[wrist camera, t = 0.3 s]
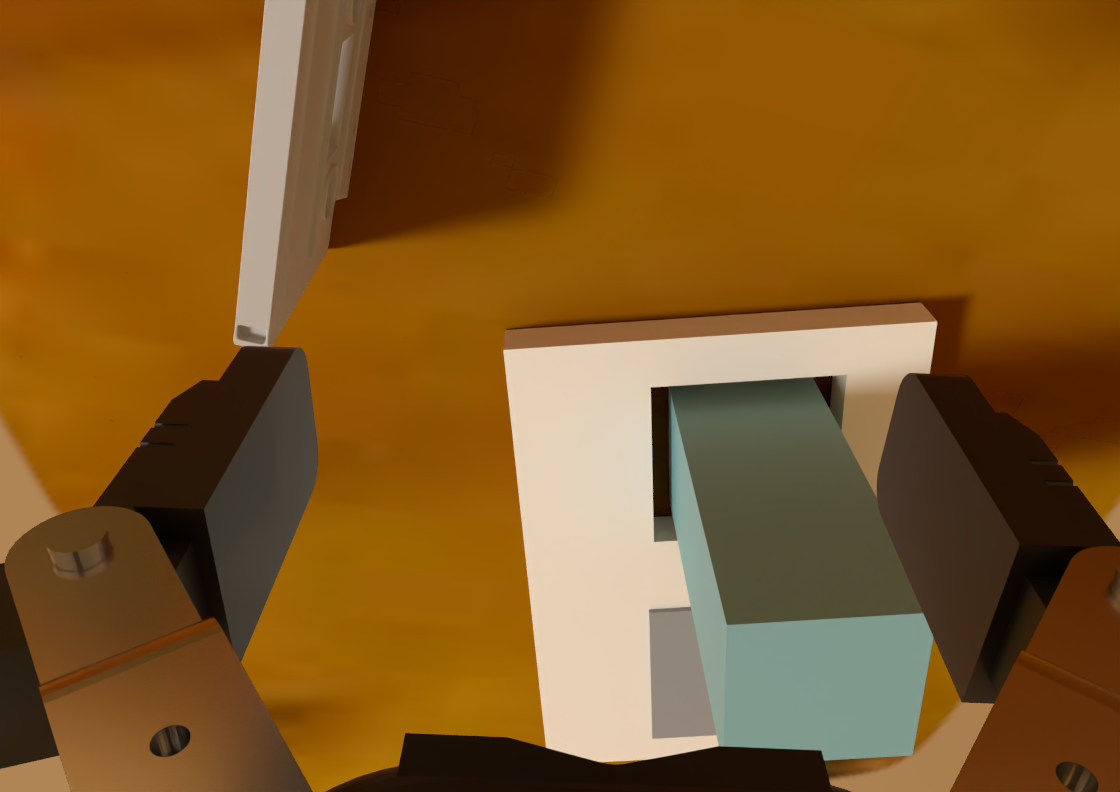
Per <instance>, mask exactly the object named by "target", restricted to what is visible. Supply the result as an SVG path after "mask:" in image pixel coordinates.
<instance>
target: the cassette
mask: <svg viewBox="0 0 1120 792" xmlns="http://www.w3.org/2000/svg"><path fill="white" fill-rule="evenodd" d="M375 5H376V0H265V7H264V18H263V29H262V40H261V51H260V61H259V72H258V83H257V94H256V105H255V116H254V126H253V137H252V148H251V159H250V170H249V181H248V191H247V202H246V213H245V224H244V235H243V246H242V256H241V267H240V278H239V289H238V300H237V311H236V321H235V331H234V337H233V341H234V344H235V345H240V346H267V347H272V346H273V344H274V342H275V341H276V339H277V337H278V336H279V334H280V332H281V330H282V329H283V327H284V325H285V323H286V322H287V320H288V318H289V316H290V315H291V313H292V311H293V309H294V308H295V306H296V304H297V302H298V301H299V299H300V297H301V295H302V294H303V292H304V290H305V288H306V287H307V285H308V283H309V282H310V280H311V278H312V276H313V275H314V273H315V271H316V269H317V268H318V266H319V264H320V262H321V261H322V259H323V257H324V256H325V254H326V252H327V250H328V247H329V241H330V233H331V226H332V219H333V212H334V206H335V201H336V200H339V199H343V198H347V197H348V190H349V183H350V176H351V169H352V163H353V156H354V149H355V142H356V135H357V128H358V121H359V115H360V108H361V101H362V94H363V87H364V80H365V74H366V67H367V60H368V53H369V46H370V39H371V33H372V26H373V19H374V12H375Z"/></svg>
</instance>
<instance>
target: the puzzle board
mask: <svg viewBox="0 0 1120 792" xmlns="http://www.w3.org/2000/svg"><path fill="white" fill-rule="evenodd" d="M936 328H937V320H936V319H935V318H934V317H933V316H932V314H931V313H930V312H929V311H928V310H927V309H926V308H925V306H924V305H923V304H922V303H906V304H890V305H875V306H860V307H845V308H830V309H815V310H800V311H785V312H770V313H755V314H739V315H724V316H709V317H694V318H679V319H664V320H649V321H634V322H619V323H604V324H588V325H573V326H558V327H543V328H528V329H513V330H505V337H504V349H503V351H504V360H505V369H506V379H507V388H508V397H509V407H510V416H511V425H512V435H513V444H514V453H515V462H516V472H517V481H518V490H519V500H520V509H521V518H522V528H523V537H524V546H525V556H526V565H527V574H528V584H529V593H530V602H531V612H532V621H533V630H534V639H535V649H536V658H537V667H538V677H539V686H540V695H541V705H542V714H543V723H544V733H545V742H546V748H549V749H552V750H556V751H560V752H563V753H567V754H571V755H575V756H578V757H582V758H586V759H590V760H593V761H597V762H611V761H629V760H647V759H654V758H659V757H664V756H670V755H675V754H680V753H686V752H691V751H696V750H702V749H707V748H712V747H717V746H719V745H718V740H717V735H716V730H715V725H714V720H713V715H712V710H711V705H710V700H709V695H708V690H707V685H706V680H705V675H704V670H703V665H702V660H701V655H700V650H699V645H698V640H697V635H696V630H695V625H694V620H693V615H692V610H691V605H690V600H689V595H688V590H687V585H686V580H685V575H684V570H683V565H682V560H681V555H680V550H679V545H678V540H677V535H676V530H675V525H674V520H673V516H664V517H653V471H652V423H651V387H666V386H682V385H697V384H713V383H728V382H744V381H759V380H774V379H790V378H805V377H821V376H833V378H832V390H831V401H830V411H831V413H832V415H833V416H834V418H835V420H836V422H837V424H838V426H839V428H840V430H841V431H842V433H843V435H844V437H845V439H846V441H847V443H848V445H849V447H850V448H851V450H852V452H853V454H854V456H855V458H856V460H857V462H858V463H859V465H860V467H861V469H862V471H863V473H864V475H865V477H866V479H867V480H868V482H869V484H870V486H871V488H872V490H873V492H874V494H875V495H876V497H877V475H878V469H879V464H880V461H881V457H882V453H883V449H884V445H885V441H886V437H887V433H888V429H889V425H890V421H891V417H892V413H893V409H894V405H895V401H896V397H897V393H898V390H899V386H900V384H901V382H902V380H903V378H904V377H905V376H906V375H907V374H909V373H925V374H930V369H931V362H932V355H933V348H934V342H935V335H936Z"/></svg>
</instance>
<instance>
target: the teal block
mask: <svg viewBox="0 0 1120 792" xmlns="http://www.w3.org/2000/svg"><path fill="white" fill-rule="evenodd" d="M668 415H669V500H670V505H671V510H672V515H673V520H674V525H675V530H676V535H677V540H678V545H679V550H680V555H681V560H682V565H683V570H684V575H685V580H686V585H687V590H688V595H689V600H690V605H691V610H692V615H693V620H694V625H695V630H696V635H697V640H698V645H699V650H700V655H701V660H702V665H703V670H704V675H705V680H706V685H707V690H708V695H709V700H710V705H711V710H712V715H713V720H714V725H715V730H716V735H717V740H718V745H719V746H727V747H751V748H775V749H800V750H821V751H822V755H823V758H824V760H839V759H857V758H874V757H891V756H909V755H913V749H914V743H915V738H916V732H917V726H918V721H919V715H920V709H921V704H922V698H923V692H924V687H925V681H926V675H927V670H928V664H929V658H930V653H931V647H932V642H933V635H932V632H931V630H930V628H929V625H928V623H927V621H926V619H925V616H924V614H923V612H922V609H921V607H920V605H919V602H918V600H917V598H916V596H915V593H914V591H913V589H912V586H911V584H910V582H909V579H908V577H907V575H906V573H905V570H904V568H903V566H902V563H901V561H900V559H899V556H898V554H897V552H896V550H895V547H894V545H893V543H892V540H891V538H890V536H889V533H888V531H887V529H886V527H885V524H884V522H883V520H882V517H881V515H880V512H879V508H878V502H877V497H876V495H875V494H874V492H873V490H872V488H871V486H870V484H869V482H868V480H867V479H866V477H865V475H864V473H863V471H862V469H861V467H860V465H859V463H858V462H857V460H856V458H855V456H854V454H853V452H852V450H851V448H850V447H849V445H848V443H847V441H846V439H845V437H844V435H843V433H842V431H841V430H840V428H839V426H838V424H837V422H836V420H835V418H834V416H833V415H832V413H831V411H830V409H829V407H828V405H827V403H826V401H825V399H824V398H823V396H822V394H821V392H820V390H819V388H818V386H817V384H816V383H815V381H814V379H813V377H805V378H790V379H774V380H759V381H744V382H728V383H713V384H697V385H682V386H668Z"/></svg>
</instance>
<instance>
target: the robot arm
mask: <svg viewBox="0 0 1120 792" xmlns="http://www.w3.org/2000/svg"><path fill="white" fill-rule="evenodd" d="M140 443H141V446H140V447H137V448H136V449H135V450H134V452H133V453H132V454H131V456H130V457H129V458H128V460H127V461H126V463H125V464H124V465H123V467H122V468H121V469H120V471H119V472H118V473H117V475H116V476H115V477H114V479H113V480H112V481H111V483H110V484H109V486H108V487H107V488H106V490H105V491H104V492H103V494H102V495H101V496H100V498H99V499H98V500H97V502H96V503H95V504H94V506H93V507H88V508H82V509H77V510H73V511H70V512H66V513H63V514H60V515H58V516H55V517H53V518H50V519H48V520H46V521H44V522H42V523H40V524H39V525H37V526H36V527H34V528H32V529H31V530H29V531H28V532H27V533H25V534H24V535H23V536H22V537H21V538H20V539H19V540H17V541H16V542H15V544H14V545H13V546H12V548H11V549H10V550H9V553H8V554H7V557H6V560H5V563H2V564H0V769H1V768H6V767H10V766H14V765H19V764H23V763H28V762H32V761H37V760H41V759H45V758H50V757H54V756H59V755H60V758H61V762H62V765H63V768H64V771H65V774H66V778H67V781H68V784H69V787H70V791H71V792H312V790H311V788H310V786H309V784H308V783H307V781H306V779H305V777H304V775H303V774H302V772H301V770H300V768H299V766H298V765H297V763H296V761H295V759H294V757H293V756H292V754H291V752H290V750H289V748H288V747H287V745H286V743H285V741H284V739H283V738H282V736H281V734H280V732H279V730H278V729H277V727H276V725H275V723H274V721H273V720H272V718H271V716H270V714H269V712H268V711H267V709H266V707H265V705H264V703H263V702H262V700H261V698H260V696H259V694H258V693H257V691H256V689H255V687H254V685H253V684H252V682H251V680H250V678H249V676H248V675H247V673H246V671H245V669H244V667H243V666H242V664H241V660H242V658H243V656H244V653H245V651H246V648H247V646H248V644H249V641H250V639H251V637H252V634H253V632H254V629H255V627H256V625H257V622H258V620H259V617H260V615H261V613H262V610H263V608H264V606H265V603H266V601H267V598H268V596H269V594H270V591H271V589H272V587H273V584H274V582H275V579H276V577H277V575H278V572H279V570H280V568H281V565H282V563H283V560H284V558H285V556H286V553H287V551H288V549H289V546H290V544H291V541H292V539H293V537H294V534H295V532H296V530H297V527H298V525H299V522H300V520H301V518H302V515H303V513H304V510H305V508H306V506H307V503H308V501H309V499H310V496H311V494H312V491H313V488H314V485H315V480H316V475H317V466H318V446H317V437H316V429H315V421H314V412H313V404H312V396H311V388H310V380H309V372H308V365H307V360H306V356H305V353H304V352H303V350H302V349H301V348H292V347H267V346H244V347H242V348H241V349H240V350H239V352H238V353H237V355H236V356H235V358H234V359H233V361H232V362H231V364H230V365H229V367H228V368H227V370H226V371H225V373H224V374H223V376H222V377H221V378H220V380H219V381H211V380H202V381H200V382H199V383H197V384H196V385H194V386H193V387H191V388H190V389H188V390H186V391H185V392H183V393H182V394H180V395H179V396H177V397H176V398H174V399H172V400H171V402H170V403H169V404H168V406H167V407H166V408H165V410H164V411H163V413H162V414H161V415H160V417H159V418H158V419H157V421H156V422H155V427H154V428H151V429H150V430H149V431H148V433H147V434H146V436H145V437H144V438H143V440H142V441H141V442H140ZM1057 462H1058V460H1057V459H1056V457H1055V456H1054V455H1053V453H1052V452H1051V451H1050V450H1049V448H1048V447H1047V446H1046V444H1045V443H1044V442H1043V440H1042V439H1041V438H1040V436H1039V435H1037V434H1036V433H1035V432H1033V431H1032V430H1030V429H1029V428H1027V427H1026V426H1024V425H1023V424H1022V423H1020V422H1019V421H1017V420H1016V419H1014V418H1013V417H1011V416H1010V415H1009V414H1007V413H995V411H994V410H993V409H992V407H991V406H990V404H989V403H988V402H987V400H986V399H985V397H984V396H983V395H982V393H981V392H980V390H979V389H978V388H977V386H976V385H975V383H974V382H973V381H972V379H971V378H970V377H968V376H967V375H951V374H925V373H909V374H907V375H906V376H905V377H904V378H903V380H902V382H901V384H900V386H899V390H898V393H897V397H896V401H895V405H894V409H893V413H892V417H891V421H890V425H889V429H888V433H887V437H886V441H885V445H884V449H883V453H882V457H881V461H880V464H879V469H878V475H877V502H878V508H879V512H880V515H881V517H882V520H883V522H884V524H885V527H886V529H887V531H888V533H889V536H890V538H891V540H892V543H893V545H894V547H895V550H896V552H897V554H898V556H899V559H900V561H901V563H902V566H903V568H904V570H905V573H906V575H907V577H908V579H909V582H910V584H911V586H912V589H913V591H914V593H915V596H916V598H917V600H918V602H919V605H920V607H921V609H922V612H923V614H924V616H925V619H926V621H927V623H928V625H929V628H930V630H931V632H932V635H933V637H934V639H935V642H936V644H937V646H938V648H939V651H940V653H941V655H942V658H943V660H944V662H945V665H946V667H947V669H948V671H949V674H950V676H951V678H952V681H953V683H954V685H955V688H956V690H957V692H958V694H959V697H960V699H961V701H962V702H969V703H993V704H994V705H993V707H992V709H991V711H990V713H989V715H988V717H987V719H986V721H985V723H984V725H983V727H982V729H981V731H980V733H979V735H978V737H977V739H976V741H975V743H974V745H973V747H972V749H971V751H970V753H969V755H968V757H967V759H966V761H965V763H964V765H963V767H962V769H961V771H960V773H959V775H958V777H957V779H956V781H955V783H954V785H953V787H952V789H951V790H950V792H1120V542H1119V541H1118V539H1117V538H1116V537H1115V536H1114V534H1113V533H1112V531H1111V530H1110V529H1109V527H1108V526H1107V525H1106V523H1105V522H1104V521H1103V519H1102V518H1101V517H1100V515H1099V514H1098V513H1097V511H1096V510H1095V509H1094V508H1093V506H1092V505H1091V504H1090V502H1089V501H1088V500H1087V498H1086V497H1085V496H1084V494H1083V493H1082V492H1081V490H1080V489H1079V488H1078V486H1073V480H1072V479H1071V477H1070V476H1069V475H1068V473H1067V472H1066V471H1065V469H1064V468H1063V467H1062V465H1058V464H1057ZM326 792H850V791H848V790H845V789H842V788H838V787H835V786H832V785H830V782H829V778H828V774H827V770H826V766H825V762H824V758H823V755H822V751H821V750H800V749H775V748H751V747H727V746H717V747H712V748H707V749H702V750H696V751H691V752H686V753H680V754H675V755H670V756H664V757H659V758H654V759H649V760H643V761H638V762H633V763H627V764H620V765H612V764H605V763H601V762H597V761H593V760H590V759H586V758H582V757H578V756H575V755H571V754H567V753H563V752H560V751H556V750H552V749H549V748H545V747H541V746H537V745H534V744H530V743H526V742H522V741H519V740H515V739H511V738H508V737H484V736H459V735H435V734H411V733H405V738H404V743H403V748H402V753H401V758H400V763H399V766H398V767H393V768H388V769H384V770H380V771H377V772H373V773H370V774H367V775H363V776H360V777H357V778H355V779H352V780H350V781H348V782H345V783H343V784H340V785H338V786H336V787H333V788H332V789H330V790H328V791H326Z"/></svg>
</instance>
